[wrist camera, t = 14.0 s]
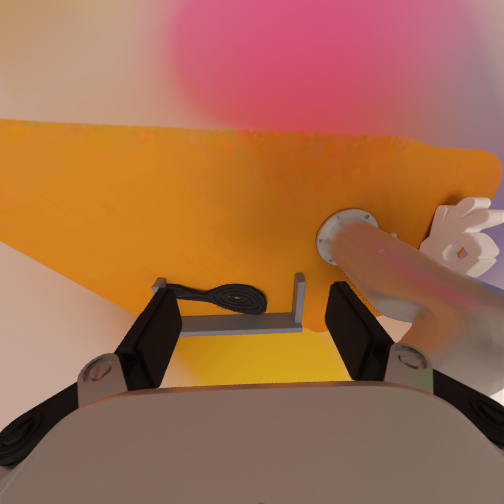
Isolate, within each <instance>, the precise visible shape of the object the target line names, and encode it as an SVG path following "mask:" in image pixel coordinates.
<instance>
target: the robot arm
mask: <svg viewBox="0 0 504 504" xmlns="http://www.w3.org/2000/svg"><path fill="white" fill-rule="evenodd" d="M337 216H338V217H337ZM320 239H321V240H320ZM316 248H317V251H318V253H319V255H320V256H321V258H322V259H323V260H324V261H326V262H327V263H329V264H332V265H335V266H339V268H340V269H341V270H342V271H343V272H344V274H345V275H346V276H347V277H348V278H349V280H350V281H351V282H352V283H353V285H354V286H355V287H356V288H357V289H358V291H359V292H360V293H361V294H362V295H363V297H364V298H365V299H366V300H367V301H368V302H369V304H370V305H371V306H372V307H373V308H374V309H375V310H377V311H378V312H379V313H381V314H383V315H384V316H386V317H389V318H392V319H395V320H399V321H404V322H410V323H412V326H411V328H410V330H408V332H407V333H406V334H405V335H404V336H403V337H402V339H401V340H400V341H399V342H398V343H395V342H394V341H393V340H392V338H391V337H390V336H389V335H388V334H387V332H386V331H385V330H384V328H383V327H382V326H381V325H380V323H379V322H378V321H377V320H376V318H375V317H374V316H373V314H372V313H371V312H370V311H369V309H368V308H367V307H366V306H365V305H364V304H363V303H362V302H361V300H360V299H359V298H358V297H357V295H356V294H355V293H354V291H353V290H352V289H351V288H350V286H349V285H348V284H347V283H346V282H345V281H337V282H334V284H331V287H330V292H329V298H328V303H327V308H326V313H325V323H326V326H327V328H328V330H329V332H330V334H331V336H332V338H333V341H334V343H335V345H336V347H337V349H338V351H339V353H340V355H341V358H342V360H343V362H344V364H345V366H346V368H347V371H348V373H349V375H350V377H351V379H352V380H355V381H325V382H296V383H295V382H294V383H269V384H268V383H267V384H241V385H240V384H239V385H216V386H193V387H172V388H158V387H159V386H160V385H161V382H162V379H163V377H164V374H165V371H166V369H167V366H168V364H169V361H170V358H171V356H172V353H173V351H174V348H175V346H176V343H177V340H178V338H179V335H180V333H181V330H182V325H183V324H182V319H181V315H180V311H179V308H178V304H177V300H176V296H175V292H174V290H171V288H170V287H164V288H159V289H158V290H157V292H156V293H155V295H154V296H153V298H152V299H151V300H150V302H149V303H148V305H147V306H146V308H145V309H144V311H143V312H142V313H141V314H140V315H139V317H138V318H137V320H136V321H135V323H134V324H133V326H132V327H131V328H130V330H129V331H128V333H127V334H126V336H125V337H124V339H123V340H122V342H121V343H120V345H119V346H118V348H117V349H116V351H115V352H114V353H107V354H103V355H101V356H98V357H96V358H95V359H93V360H92V361H90V362H89V363H88V364H86V365H85V367H84V368H83V369H82V370H81V372H80V373H79V375H78V380H77V382H76V383H74V384H72V385H70V386H69V387H67V388H66V389H64V390H62V391H61V392H59V393H57V394H56V395H54V396H52V397H51V398H49V399H47V400H46V401H44V402H43V403H41V404H39V405H37V406H36V407H34V408H32V409H31V410H29V411H27V412H26V413H24V414H23V415H21V416H19V417H18V418H16V419H15V420H14V421H12V422H11V423H10V424H9V425H8V426H6V427H5V428H4V429H3V430H2V431H1V432H0V504H504V290H503V289H500V288H498V287H495V286H492V285H490V284H487V283H485V282H483V281H480V280H478V279H476V278H473V277H471V276H469V275H466V274H464V273H462V272H460V271H458V270H456V269H454V268H452V267H450V266H448V265H446V264H444V263H442V262H440V261H438V260H436V259H434V258H432V257H431V256H429V255H427V254H425V253H423V252H421V251H419V250H418V249H416V248H414V247H412V246H410V245H408V244H407V243H405V242H403V241H401V240H399V239H397V234H396V233H386V232H385V231H383V230H381V229H379V226H378V223H377V221H376V219H375V218H374V217H373V216H372V215H371V214H370V213H368V212H366V211H363V210H361V209H345V210H342V211H339V212H337V213H335V214H333V215H332V216H330V217H329V218H328V219H327V220H326V221H325V222H324V223H323V224H322V226H321V227H320V229H319V231H318V234H317V237H316Z"/></svg>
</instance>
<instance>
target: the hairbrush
mask: <svg viewBox="0 0 504 504" xmlns="http://www.w3.org/2000/svg"><path fill="white" fill-rule="evenodd" d="M166 287H170V288H171V290H174V292H175V296H176V299H183V300H194V301H204V302H209V303H213V304H214V305H215V304H216V305H218V306H220V307H223V308H225V310H226V309H228V310H231V311H234V312H237V313H238V312H240V314H241V313H244V314H251V315H260V314H262V313H264V312H266V308H267V302H266V300H265V298H264V296H263V294H262V293H260V292H259V291H257V290H256V289H255V288H253V287H252V286H249V285H243V284H226V285H224V286H223V285H222V286H221V287H220V286H219V287H217V288H215V289H213V290H211V291H209V292H206V293H201V292H196V291H191V290H188V289H186V288H183V287H181V286H178V285H174V284H168V285H166ZM215 293H216V294H215ZM221 295H222V296H221ZM220 296H221V297H220ZM229 296H230V297H229ZM234 297H238V299H235V298H234ZM221 298H222V299H221ZM239 298H241V299H239ZM262 304H263V305H262ZM220 307H219V308H220ZM223 308H222V309H223Z"/></svg>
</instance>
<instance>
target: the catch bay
mask: <svg viewBox="0 0 504 504" xmlns="http://www.w3.org/2000/svg"><path fill="white" fill-rule="evenodd" d="M305 284H306V282H305V279H304V277H303V275H302V273H295V281H294V292H293V304H292V313H267V314H260V315H251V314H239V315H211V316H183V317H181V319H182V324H183V325H182V330H181V333H180V335H179V337H188V336H215V335H243V334H270V333H298V332H302V325H301V318H302V309H303V301H304V292H305ZM166 285H167V284H166V280H165V278H158V279H157V281H156V282H155V283H154V285H153V286H152V290H153V294H154V295H155V293H156V292H157V290H158V289H159V288H164V287H166Z"/></svg>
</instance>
